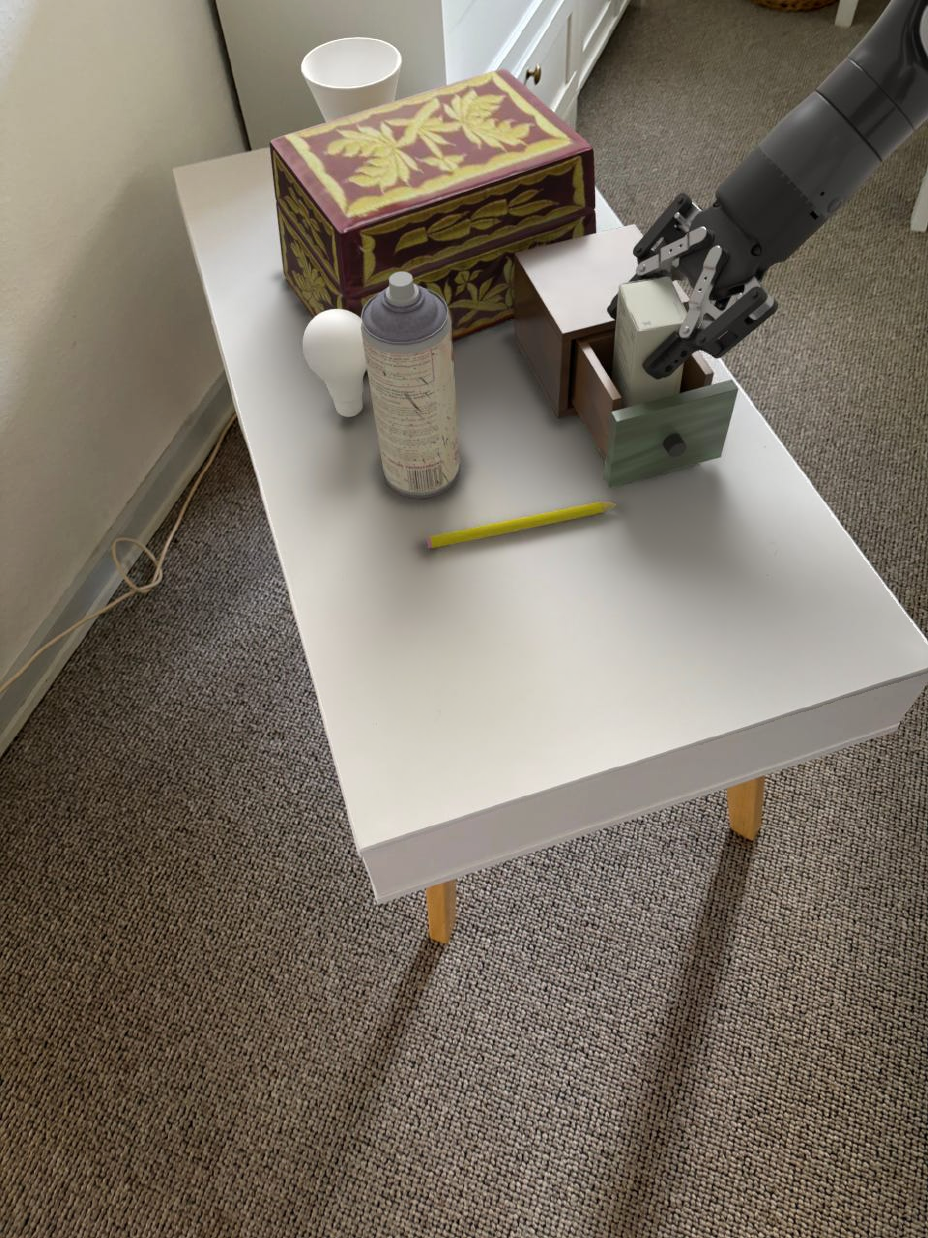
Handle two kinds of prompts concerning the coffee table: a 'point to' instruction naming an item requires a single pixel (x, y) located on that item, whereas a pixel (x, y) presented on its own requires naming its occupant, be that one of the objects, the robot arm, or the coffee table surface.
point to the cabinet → (569, 302)
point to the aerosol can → (412, 387)
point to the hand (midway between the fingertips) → (631, 344)
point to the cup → (352, 75)
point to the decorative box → (431, 198)
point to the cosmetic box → (645, 338)
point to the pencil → (517, 524)
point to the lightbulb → (338, 357)
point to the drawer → (649, 415)
